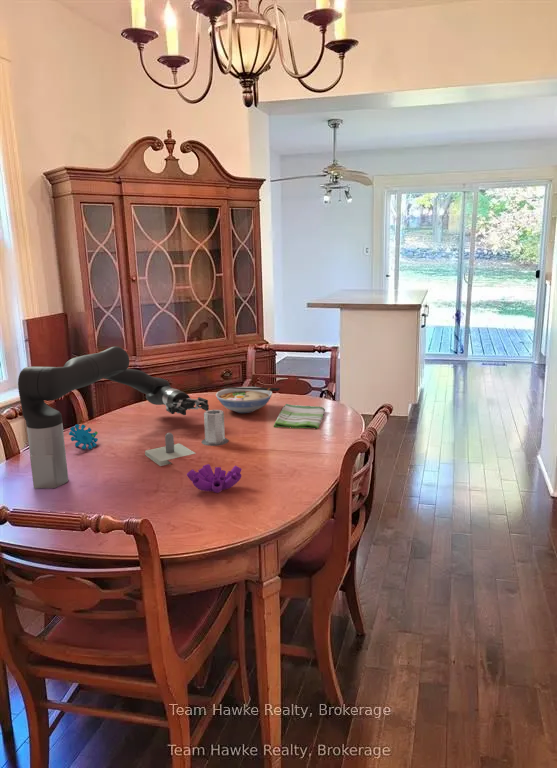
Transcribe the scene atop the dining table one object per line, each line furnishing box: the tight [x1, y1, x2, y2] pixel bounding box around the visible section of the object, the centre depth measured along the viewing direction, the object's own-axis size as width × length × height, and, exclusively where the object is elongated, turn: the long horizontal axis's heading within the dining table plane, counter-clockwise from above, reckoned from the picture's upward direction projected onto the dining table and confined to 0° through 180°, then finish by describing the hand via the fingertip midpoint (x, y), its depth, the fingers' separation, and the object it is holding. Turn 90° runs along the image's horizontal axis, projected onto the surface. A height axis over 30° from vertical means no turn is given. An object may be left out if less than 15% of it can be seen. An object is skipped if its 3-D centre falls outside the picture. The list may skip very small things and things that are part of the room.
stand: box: [200, 437, 229, 447], centre depth 192 cm, size 9×9×8 cm
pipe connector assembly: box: [186, 463, 243, 493], centre depth 156 cm, size 11×15×10 cm
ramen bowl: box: [215, 386, 280, 414], centre depth 233 cm, size 25×23×8 cm
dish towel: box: [273, 403, 326, 429], centre depth 221 cm, size 17×23×4 cm
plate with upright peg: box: [144, 432, 197, 467], centre depth 183 cm, size 12×12×8 cm
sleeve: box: [203, 409, 226, 444], centre depth 192 cm, size 6×6×10 cm
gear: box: [68, 424, 99, 451], centre depth 194 cm, size 11×6×10 cm
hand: (196, 410), depth 200 cm, fingers open, 8 cm apart
